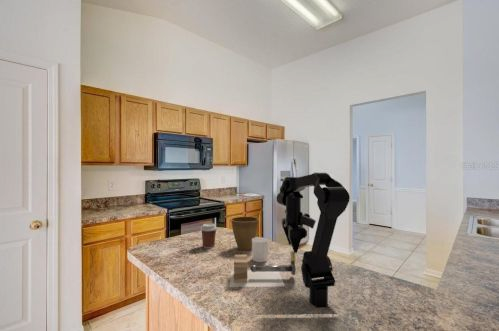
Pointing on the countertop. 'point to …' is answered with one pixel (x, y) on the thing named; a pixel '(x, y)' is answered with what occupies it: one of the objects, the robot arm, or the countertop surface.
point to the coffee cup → (208, 235)
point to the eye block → (240, 269)
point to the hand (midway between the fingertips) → (292, 248)
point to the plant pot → (244, 231)
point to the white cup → (260, 249)
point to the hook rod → (277, 267)
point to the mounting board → (259, 279)
